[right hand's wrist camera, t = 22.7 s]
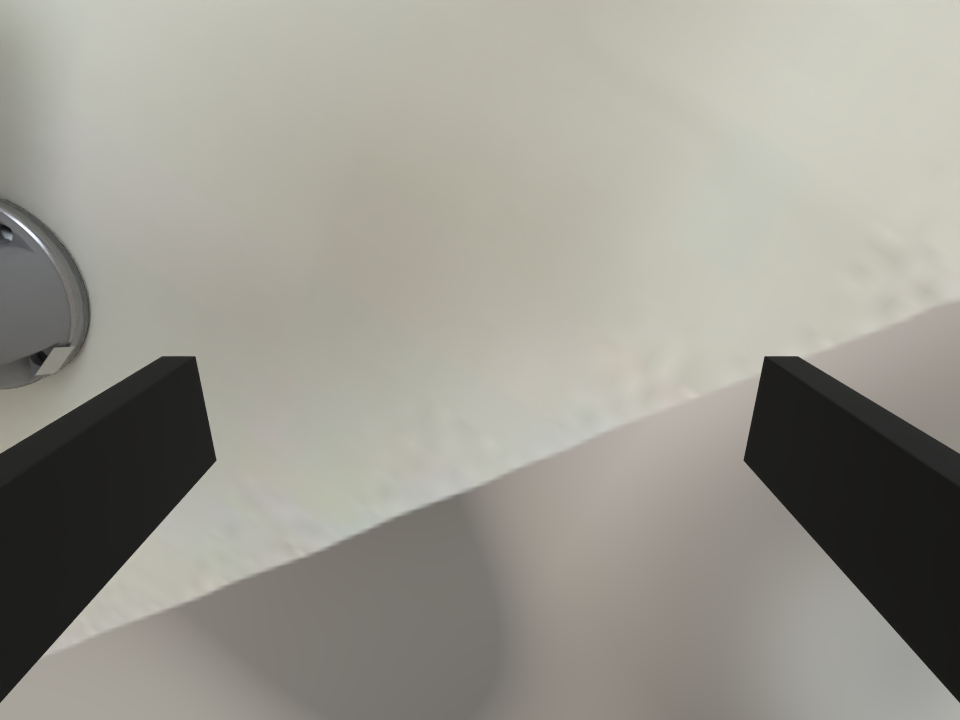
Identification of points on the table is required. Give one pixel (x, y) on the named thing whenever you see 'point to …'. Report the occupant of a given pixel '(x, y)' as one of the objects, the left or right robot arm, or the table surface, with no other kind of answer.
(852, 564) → the right robot arm
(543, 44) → the table surface
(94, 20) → the table surface
